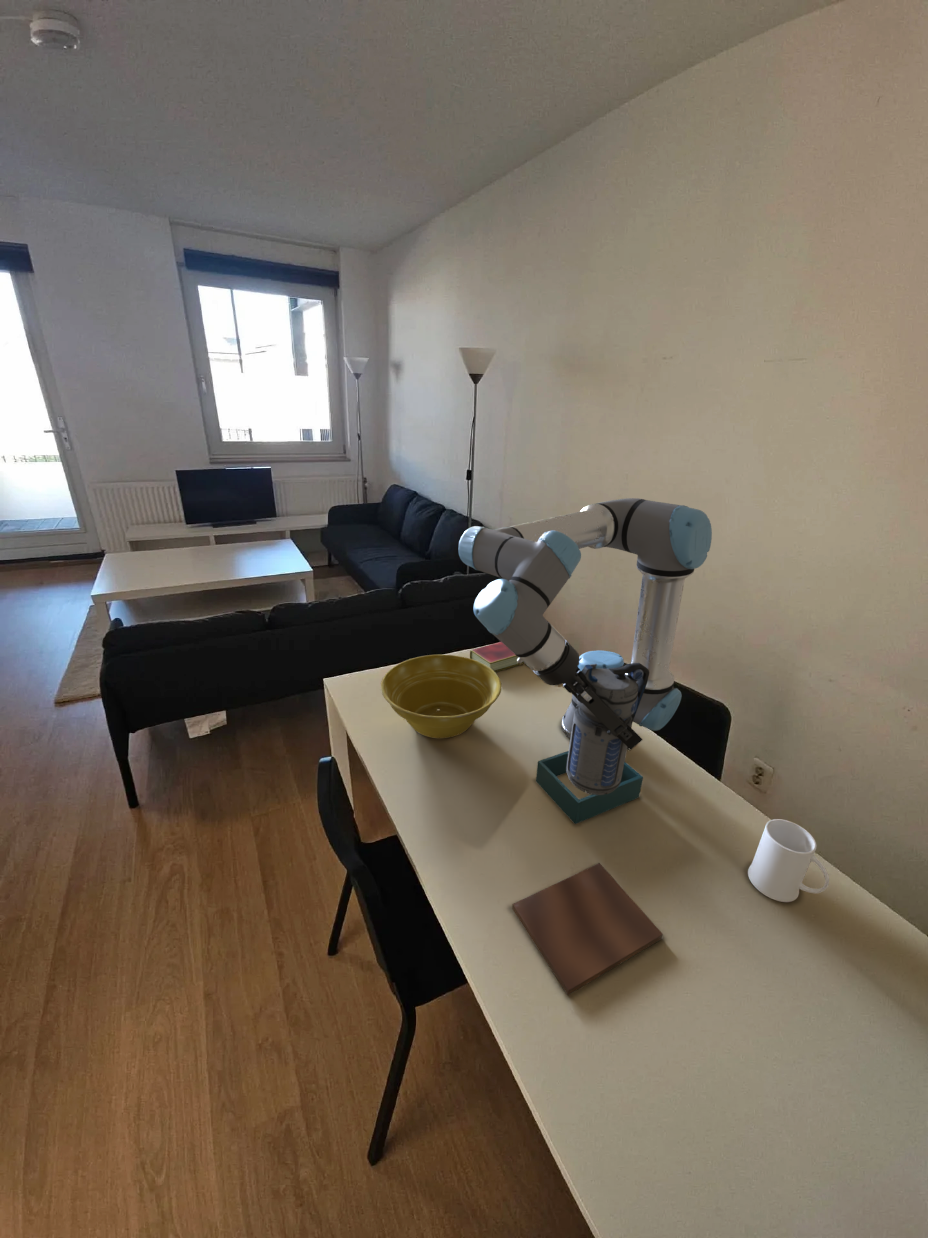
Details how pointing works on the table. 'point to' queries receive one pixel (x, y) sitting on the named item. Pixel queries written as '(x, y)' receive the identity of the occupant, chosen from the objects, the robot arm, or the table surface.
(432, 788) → the table surface
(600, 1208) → the table surface
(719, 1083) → the table surface
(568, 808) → the teal open box
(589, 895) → the walnut board
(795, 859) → the mug
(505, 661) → the hardcover book
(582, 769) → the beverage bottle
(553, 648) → the robot arm
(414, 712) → the planter bowl
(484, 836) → the table surface
